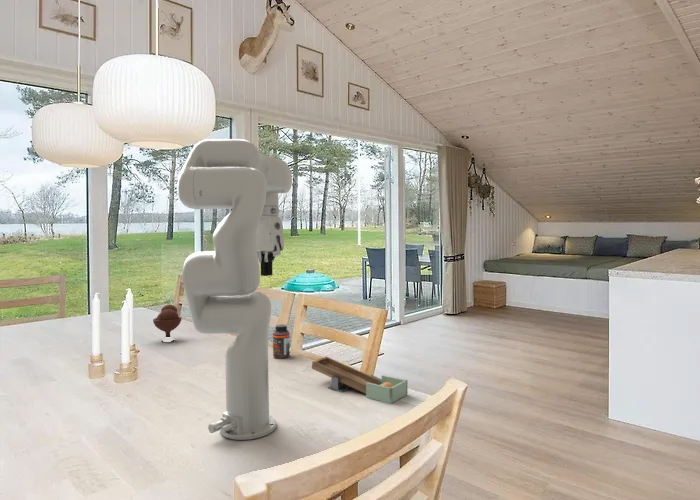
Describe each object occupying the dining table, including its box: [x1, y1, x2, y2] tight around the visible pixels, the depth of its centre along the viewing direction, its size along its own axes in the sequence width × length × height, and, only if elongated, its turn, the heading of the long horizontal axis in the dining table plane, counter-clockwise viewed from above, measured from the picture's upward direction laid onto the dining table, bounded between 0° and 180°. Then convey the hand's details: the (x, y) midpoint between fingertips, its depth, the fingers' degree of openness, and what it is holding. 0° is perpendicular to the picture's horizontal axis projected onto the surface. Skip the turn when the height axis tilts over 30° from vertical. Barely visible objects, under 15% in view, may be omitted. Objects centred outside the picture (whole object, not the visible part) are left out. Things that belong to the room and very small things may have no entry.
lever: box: [311, 356, 382, 395], centre depth 138 cm, size 10×20×2 cm, turn 53°
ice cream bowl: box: [152, 304, 182, 337], centre depth 194 cm, size 11×11×15 cm
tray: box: [365, 375, 408, 404], centre depth 128 cm, size 8×8×4 cm
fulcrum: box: [327, 376, 352, 393], centre depth 136 cm, size 9×5×4 cm, turn 143°
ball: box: [381, 382, 393, 388], centre depth 128 cm, size 4×4×4 cm
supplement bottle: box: [272, 323, 291, 359], centre depth 169 cm, size 6×6×11 cm
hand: (266, 275), depth 138 cm, fingers closed
